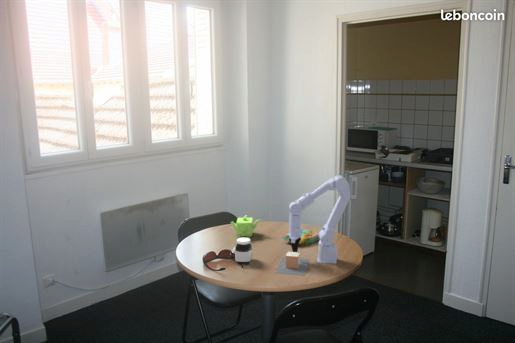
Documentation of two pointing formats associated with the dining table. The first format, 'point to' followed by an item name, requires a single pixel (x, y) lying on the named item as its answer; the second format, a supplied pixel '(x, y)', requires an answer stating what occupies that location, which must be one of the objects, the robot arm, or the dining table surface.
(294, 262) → the cube
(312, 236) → the colorful snack bag
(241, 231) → the kettle
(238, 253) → the spread jar
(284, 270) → the mat
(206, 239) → the dining table surface
